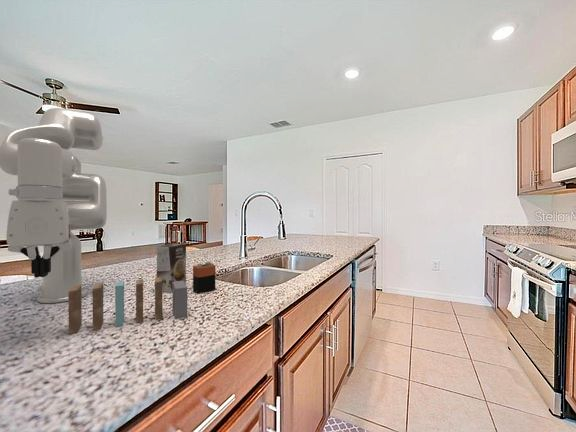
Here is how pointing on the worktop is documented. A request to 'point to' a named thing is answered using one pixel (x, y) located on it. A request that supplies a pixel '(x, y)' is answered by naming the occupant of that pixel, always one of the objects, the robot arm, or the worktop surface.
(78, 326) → the domino
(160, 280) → the domino
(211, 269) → the battery
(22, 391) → the worktop surface
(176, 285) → the block
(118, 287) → the domino
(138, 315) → the domino
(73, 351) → the worktop surface
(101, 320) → the domino
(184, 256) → the coffee box
